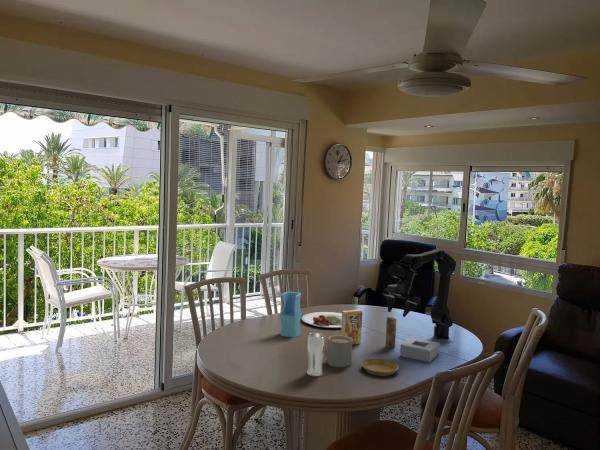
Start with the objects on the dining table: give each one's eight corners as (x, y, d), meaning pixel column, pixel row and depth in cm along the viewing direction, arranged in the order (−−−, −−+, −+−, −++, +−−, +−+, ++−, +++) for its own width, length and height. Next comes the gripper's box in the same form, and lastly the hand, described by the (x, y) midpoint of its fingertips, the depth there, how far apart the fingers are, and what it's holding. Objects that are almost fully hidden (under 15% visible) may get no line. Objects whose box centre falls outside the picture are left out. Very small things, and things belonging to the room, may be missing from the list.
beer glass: (305, 370, 188) (306, 332, 187) (322, 370, 189) (324, 332, 188) (306, 376, 181) (308, 337, 180) (325, 377, 182) (326, 337, 181)
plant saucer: (372, 361, 201) (373, 355, 201) (405, 371, 192) (405, 364, 192) (353, 371, 190) (353, 364, 189) (386, 381, 180) (387, 374, 180)
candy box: (356, 341, 227) (357, 309, 226) (361, 343, 224) (362, 311, 222) (340, 343, 223) (341, 310, 222) (344, 345, 220) (346, 312, 219)
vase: (279, 335, 232) (281, 294, 230) (286, 331, 239) (287, 291, 238) (294, 337, 229) (296, 296, 228) (300, 333, 236) (302, 293, 235)
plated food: (360, 318, 270) (360, 312, 270) (353, 333, 241) (354, 326, 241) (307, 313, 277) (308, 307, 277) (295, 327, 248) (295, 320, 248)
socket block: (410, 348, 220) (410, 337, 220) (438, 354, 213) (439, 343, 213) (399, 355, 209) (400, 344, 209) (429, 362, 202) (430, 350, 202)
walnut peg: (394, 345, 223) (395, 317, 222) (395, 348, 219) (397, 320, 218) (384, 344, 224) (386, 317, 223) (385, 347, 219) (387, 319, 218)
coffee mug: (343, 369, 191) (344, 344, 190) (322, 363, 197) (323, 338, 196) (360, 360, 201) (361, 337, 201) (340, 354, 207) (341, 332, 207)
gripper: (379, 273, 225) (370, 306, 223) (409, 280, 209) (399, 315, 208) (395, 279, 231) (386, 311, 229) (425, 286, 216) (416, 320, 214)
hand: (396, 314), depth 220 cm, fingers open, 9 cm apart
